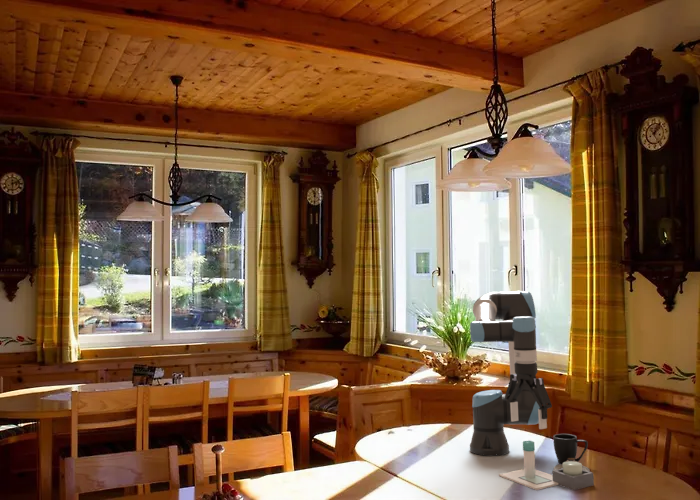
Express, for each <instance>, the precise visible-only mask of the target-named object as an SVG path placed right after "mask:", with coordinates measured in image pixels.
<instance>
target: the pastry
mask: <svg viewBox="0 0 700 500" xmlns="http://www.w3.org/2000/svg"><path fill="white" fill-rule="evenodd" d="M575 459H576V458H568V460H567V461H566V462H568V461H573V462H577V461H575ZM562 468H563V464H558V465H555V466H553V470H557V469H562ZM582 469H583V470H586V471H589V472H591V471H590V468H588V467H587V466H584V465H582Z"/></svg>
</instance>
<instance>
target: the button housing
mask: <svg viewBox="0 0 700 500" xmlns="http://www.w3.org/2000/svg"><path fill="white" fill-rule="evenodd" d="M551 475H553V481H554V482H557V483H558V485H557V486H560V487H563V488H567V489H569V490H572V491H576V490H580V489H584V488H589V487H593V486H595V482H594V481H595V478H594V472H592V471H586V470H583V469H582V474H580V475H576V476H571V475H568V474H565V473H563V468H561V469H557V470H554V469H553V470H552V474H551Z"/></svg>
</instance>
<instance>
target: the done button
mask: <svg viewBox="0 0 700 500" xmlns="http://www.w3.org/2000/svg"><path fill="white" fill-rule="evenodd" d="M582 466H583V465H582V463H581V462H580V461H579V462H573V461H568V462H563V473H565V474H568V475H571V476H576V475H580V474H582Z"/></svg>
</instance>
